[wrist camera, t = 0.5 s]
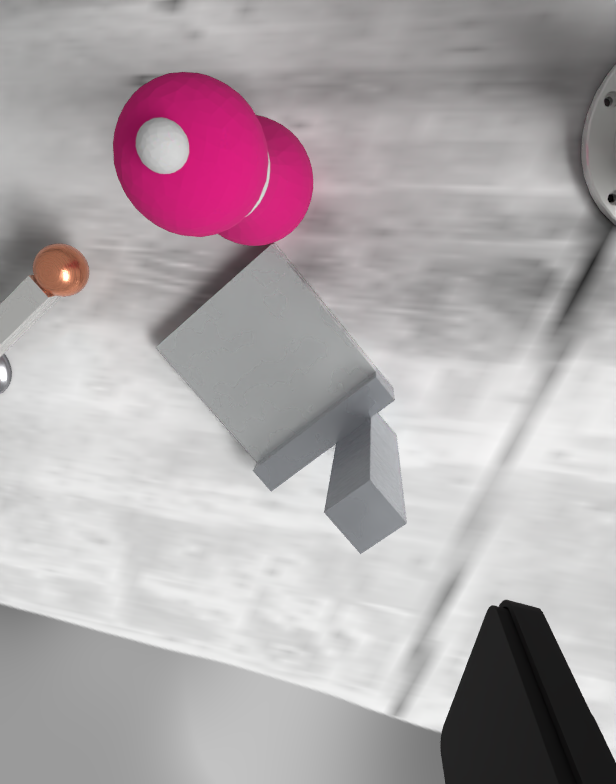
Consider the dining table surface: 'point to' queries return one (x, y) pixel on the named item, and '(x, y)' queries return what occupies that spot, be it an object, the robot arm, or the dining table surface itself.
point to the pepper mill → (210, 162)
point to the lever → (41, 290)
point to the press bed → (292, 392)
